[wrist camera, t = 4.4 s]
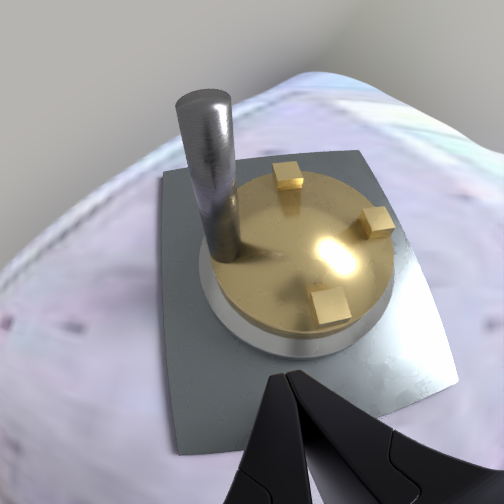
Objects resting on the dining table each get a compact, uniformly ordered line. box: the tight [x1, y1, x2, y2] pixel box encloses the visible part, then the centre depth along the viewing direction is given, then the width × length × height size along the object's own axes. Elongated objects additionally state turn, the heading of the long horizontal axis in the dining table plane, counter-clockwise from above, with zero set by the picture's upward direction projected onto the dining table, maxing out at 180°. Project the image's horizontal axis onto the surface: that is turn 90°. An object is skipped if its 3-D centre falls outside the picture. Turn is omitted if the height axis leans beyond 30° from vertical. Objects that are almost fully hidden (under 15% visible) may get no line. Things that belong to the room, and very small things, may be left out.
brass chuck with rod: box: [175, 89, 396, 340], centre depth 15 cm, size 12×12×12 cm
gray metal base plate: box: [161, 150, 458, 456], centre depth 21 cm, size 24×20×2 cm
